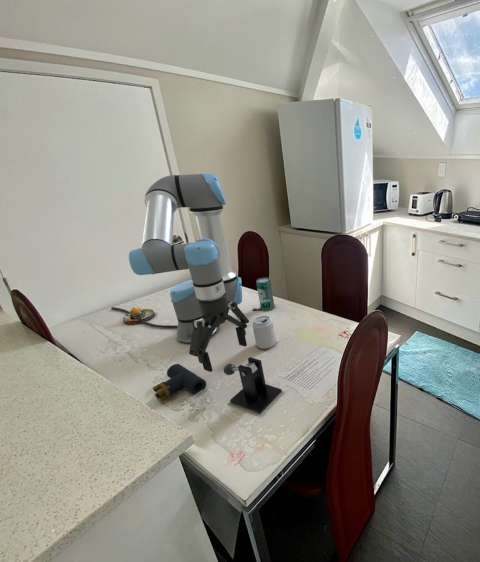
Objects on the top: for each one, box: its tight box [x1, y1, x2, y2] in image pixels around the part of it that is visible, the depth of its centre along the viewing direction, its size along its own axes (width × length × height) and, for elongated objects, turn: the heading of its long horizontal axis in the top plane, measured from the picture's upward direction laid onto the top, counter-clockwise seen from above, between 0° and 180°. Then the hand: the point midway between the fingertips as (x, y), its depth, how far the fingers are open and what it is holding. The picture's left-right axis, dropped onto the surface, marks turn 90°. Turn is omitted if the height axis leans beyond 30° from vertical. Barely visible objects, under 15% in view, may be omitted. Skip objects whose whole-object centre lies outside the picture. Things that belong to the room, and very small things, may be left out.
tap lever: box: [223, 362, 257, 376], centre depth 97 cm, size 13×4×4 cm, turn 66°
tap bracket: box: [229, 356, 283, 415], centre depth 97 cm, size 12×10×14 cm
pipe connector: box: [152, 363, 207, 403], centre depth 102 cm, size 12×5×15 cm
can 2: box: [252, 315, 277, 350], centre depth 124 cm, size 8×8×12 cm
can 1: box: [255, 277, 275, 312], centre depth 152 cm, size 6×6×15 cm
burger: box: [122, 306, 155, 325], centre depth 146 cm, size 12×12×8 cm
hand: (226, 357), depth 97 cm, fingers open, 13 cm apart
